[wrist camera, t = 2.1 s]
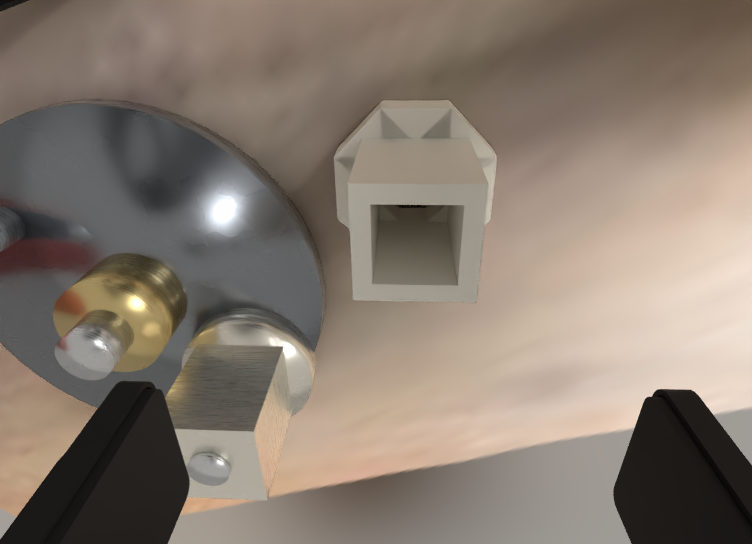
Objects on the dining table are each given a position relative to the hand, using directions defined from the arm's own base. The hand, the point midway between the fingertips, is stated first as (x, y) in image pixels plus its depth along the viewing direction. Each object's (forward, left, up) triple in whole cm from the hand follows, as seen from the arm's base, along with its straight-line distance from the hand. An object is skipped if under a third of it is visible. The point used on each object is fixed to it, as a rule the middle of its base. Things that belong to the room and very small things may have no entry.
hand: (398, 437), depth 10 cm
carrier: (+14, +6, -15) cm, 21 cm away
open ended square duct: (0, 0, -15) cm, 15 cm away
